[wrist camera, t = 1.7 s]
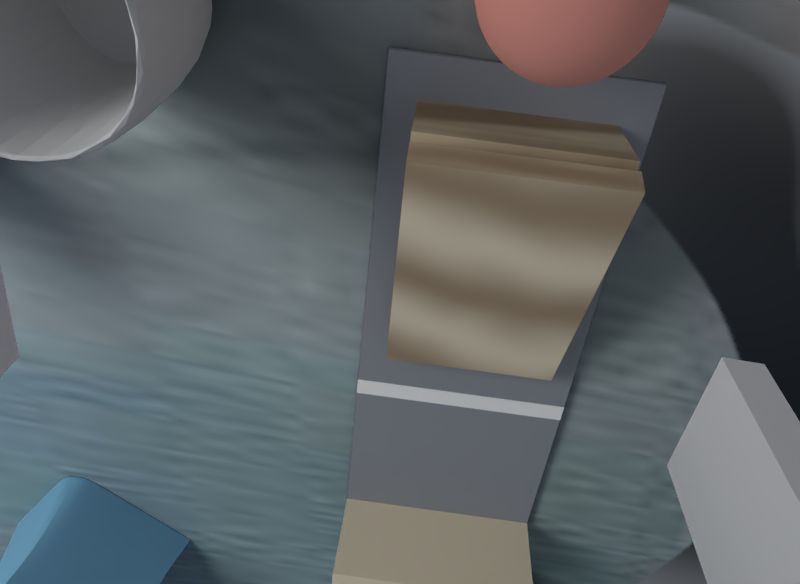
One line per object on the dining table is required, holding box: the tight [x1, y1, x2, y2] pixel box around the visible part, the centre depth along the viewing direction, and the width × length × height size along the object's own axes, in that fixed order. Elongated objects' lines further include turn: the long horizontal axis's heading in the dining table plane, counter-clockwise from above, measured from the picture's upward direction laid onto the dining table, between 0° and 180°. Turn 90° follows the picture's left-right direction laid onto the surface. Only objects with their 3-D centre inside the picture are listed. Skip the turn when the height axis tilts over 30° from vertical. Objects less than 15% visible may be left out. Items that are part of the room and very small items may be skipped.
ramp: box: [386, 100, 645, 381], centre depth 31 cm, size 14×9×6 cm, turn 174°
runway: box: [332, 47, 667, 584], centre depth 34 cm, size 30×12×6 cm, turn 174°
